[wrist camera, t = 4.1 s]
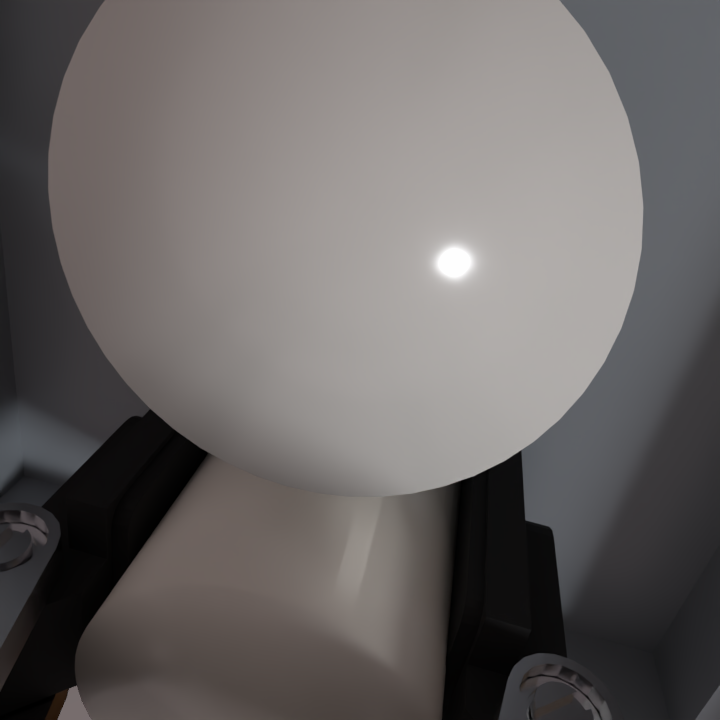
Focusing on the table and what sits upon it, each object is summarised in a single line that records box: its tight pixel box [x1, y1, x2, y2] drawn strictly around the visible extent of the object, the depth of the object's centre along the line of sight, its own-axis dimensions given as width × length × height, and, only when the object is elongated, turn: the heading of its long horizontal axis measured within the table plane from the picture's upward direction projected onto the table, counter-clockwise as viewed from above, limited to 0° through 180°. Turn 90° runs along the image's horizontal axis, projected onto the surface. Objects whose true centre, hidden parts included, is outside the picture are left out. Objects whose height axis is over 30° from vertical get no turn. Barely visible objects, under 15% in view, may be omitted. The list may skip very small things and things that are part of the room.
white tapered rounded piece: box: [75, 453, 461, 720], centre depth 9 cm, size 4×4×5 cm
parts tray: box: [0, 0, 720, 720], centre depth 8 cm, size 18×15×2 cm
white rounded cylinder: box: [48, 0, 643, 497], centre depth 7 cm, size 4×4×5 cm
